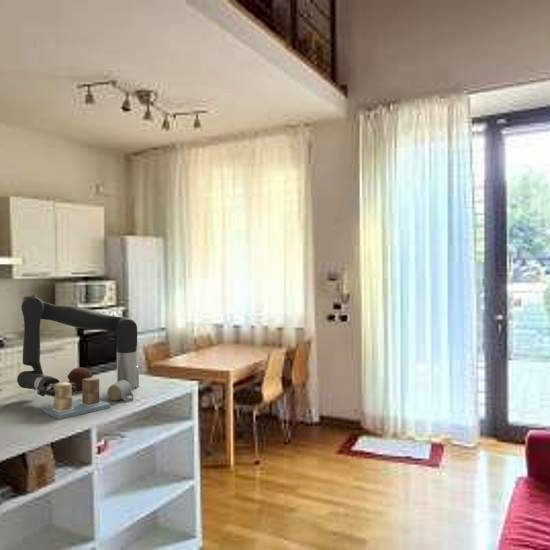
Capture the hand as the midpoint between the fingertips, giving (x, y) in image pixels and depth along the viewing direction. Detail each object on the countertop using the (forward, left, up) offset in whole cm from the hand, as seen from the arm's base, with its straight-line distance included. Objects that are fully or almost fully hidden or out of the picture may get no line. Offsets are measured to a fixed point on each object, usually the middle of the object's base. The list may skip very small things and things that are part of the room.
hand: (64, 391), depth 213 cm
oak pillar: (0, -2, -7) cm, 7 cm away
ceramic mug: (-27, -3, -9) cm, 29 cm away
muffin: (-23, -33, -9) cm, 41 cm away
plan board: (-6, -2, -9) cm, 11 cm away
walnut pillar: (-12, -2, -7) cm, 14 cm away
